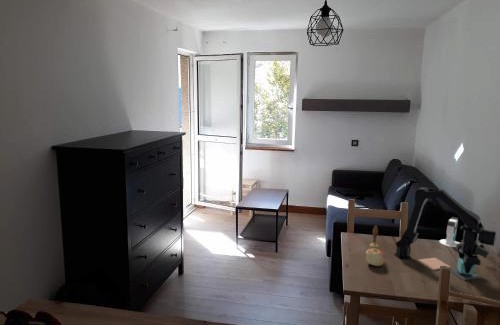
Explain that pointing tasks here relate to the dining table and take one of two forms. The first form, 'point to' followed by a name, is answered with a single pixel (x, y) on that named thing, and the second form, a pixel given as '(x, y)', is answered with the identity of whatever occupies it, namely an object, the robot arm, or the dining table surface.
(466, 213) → the robot arm
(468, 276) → the post base
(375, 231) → the hand bell
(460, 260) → the teal cube
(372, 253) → the apple
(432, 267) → the tile
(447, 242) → the white stand
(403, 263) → the dining table surface
